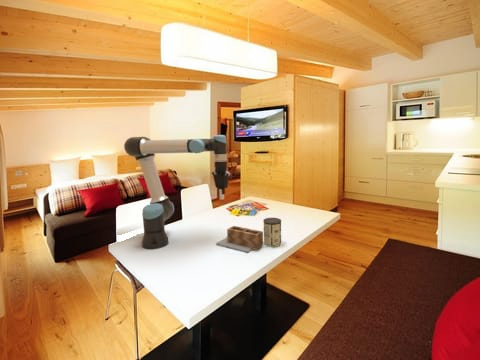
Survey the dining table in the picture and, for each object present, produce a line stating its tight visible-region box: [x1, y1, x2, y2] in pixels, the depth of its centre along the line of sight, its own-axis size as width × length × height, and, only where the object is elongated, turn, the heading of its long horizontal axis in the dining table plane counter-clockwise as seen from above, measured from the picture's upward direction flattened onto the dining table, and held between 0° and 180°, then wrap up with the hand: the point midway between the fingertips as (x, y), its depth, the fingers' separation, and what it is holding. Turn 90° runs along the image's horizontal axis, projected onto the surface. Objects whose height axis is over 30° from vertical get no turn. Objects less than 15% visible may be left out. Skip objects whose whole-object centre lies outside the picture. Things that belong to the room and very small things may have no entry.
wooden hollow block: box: [226, 225, 264, 250], centre depth 155 cm, size 20×7×8 cm, turn 56°
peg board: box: [215, 237, 254, 254], centre depth 157 cm, size 22×16×6 cm
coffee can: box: [263, 217, 282, 248], centre depth 156 cm, size 10×10×14 cm
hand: (222, 199), depth 165 cm, fingers closed
